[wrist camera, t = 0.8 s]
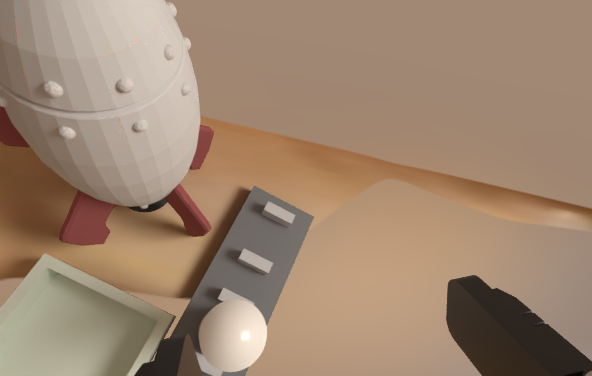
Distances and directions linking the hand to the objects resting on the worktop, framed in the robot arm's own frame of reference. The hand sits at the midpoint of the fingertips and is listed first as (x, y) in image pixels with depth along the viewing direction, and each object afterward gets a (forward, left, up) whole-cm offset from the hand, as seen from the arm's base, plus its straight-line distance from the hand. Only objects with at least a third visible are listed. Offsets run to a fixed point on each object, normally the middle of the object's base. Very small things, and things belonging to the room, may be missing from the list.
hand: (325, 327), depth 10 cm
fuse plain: (-2, -1, -21) cm, 21 cm away
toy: (-13, +7, -23) cm, 27 cm away
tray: (-11, -7, -23) cm, 26 cm away
